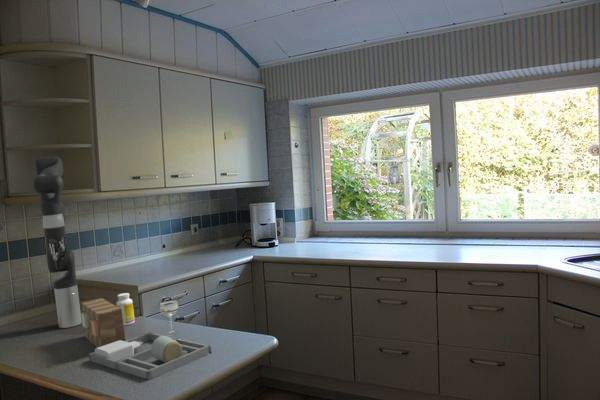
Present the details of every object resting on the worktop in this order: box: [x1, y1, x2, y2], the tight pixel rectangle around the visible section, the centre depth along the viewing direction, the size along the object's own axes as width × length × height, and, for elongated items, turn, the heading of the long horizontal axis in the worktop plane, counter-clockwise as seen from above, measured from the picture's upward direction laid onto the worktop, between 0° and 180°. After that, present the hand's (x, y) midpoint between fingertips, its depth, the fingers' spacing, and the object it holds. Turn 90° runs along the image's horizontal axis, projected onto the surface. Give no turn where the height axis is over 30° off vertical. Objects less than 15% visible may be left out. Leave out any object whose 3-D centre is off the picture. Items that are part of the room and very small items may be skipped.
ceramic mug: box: [150, 335, 188, 363], centre depth 165 cm, size 11×8×8 cm
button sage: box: [81, 312, 89, 328], centre depth 197 cm, size 5×5×5 cm
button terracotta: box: [91, 320, 99, 337], centre depth 184 cm, size 5×5×5 cm
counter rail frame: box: [88, 332, 212, 381], centre depth 170 cm, size 35×24×2 cm
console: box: [80, 297, 126, 348], centre depth 192 cm, size 28×8×14 cm, turn 35°
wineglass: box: [159, 300, 179, 333], centre depth 195 cm, size 7×7×12 cm
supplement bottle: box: [115, 292, 136, 327], centre depth 215 cm, size 7×7×13 cm
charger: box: [94, 340, 144, 361], centre depth 174 cm, size 5×9×15 cm
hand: (59, 268), depth 201 cm, fingers closed
